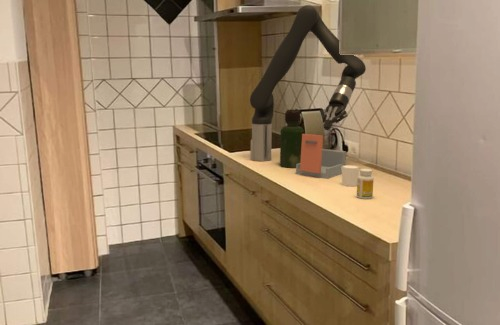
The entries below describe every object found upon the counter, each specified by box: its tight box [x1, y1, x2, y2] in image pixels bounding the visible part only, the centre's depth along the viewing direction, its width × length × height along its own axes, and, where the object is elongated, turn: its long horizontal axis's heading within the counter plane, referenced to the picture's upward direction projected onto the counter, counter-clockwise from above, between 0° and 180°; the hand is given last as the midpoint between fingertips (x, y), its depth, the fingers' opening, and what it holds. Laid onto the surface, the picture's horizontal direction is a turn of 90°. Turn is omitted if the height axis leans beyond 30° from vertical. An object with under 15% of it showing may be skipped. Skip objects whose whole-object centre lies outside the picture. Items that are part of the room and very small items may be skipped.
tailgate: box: [300, 133, 324, 173], centre depth 205 cm, size 2×9×15 cm, turn 52°
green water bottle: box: [279, 109, 305, 169], centre depth 226 cm, size 10×10×25 cm
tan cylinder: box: [341, 164, 360, 187], centre depth 193 cm, size 7×7×7 cm
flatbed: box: [295, 148, 347, 179], centre depth 213 cm, size 15×15×9 cm
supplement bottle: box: [356, 168, 375, 200], centre depth 175 cm, size 5×5×10 cm
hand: (326, 128), depth 213 cm, fingers closed
